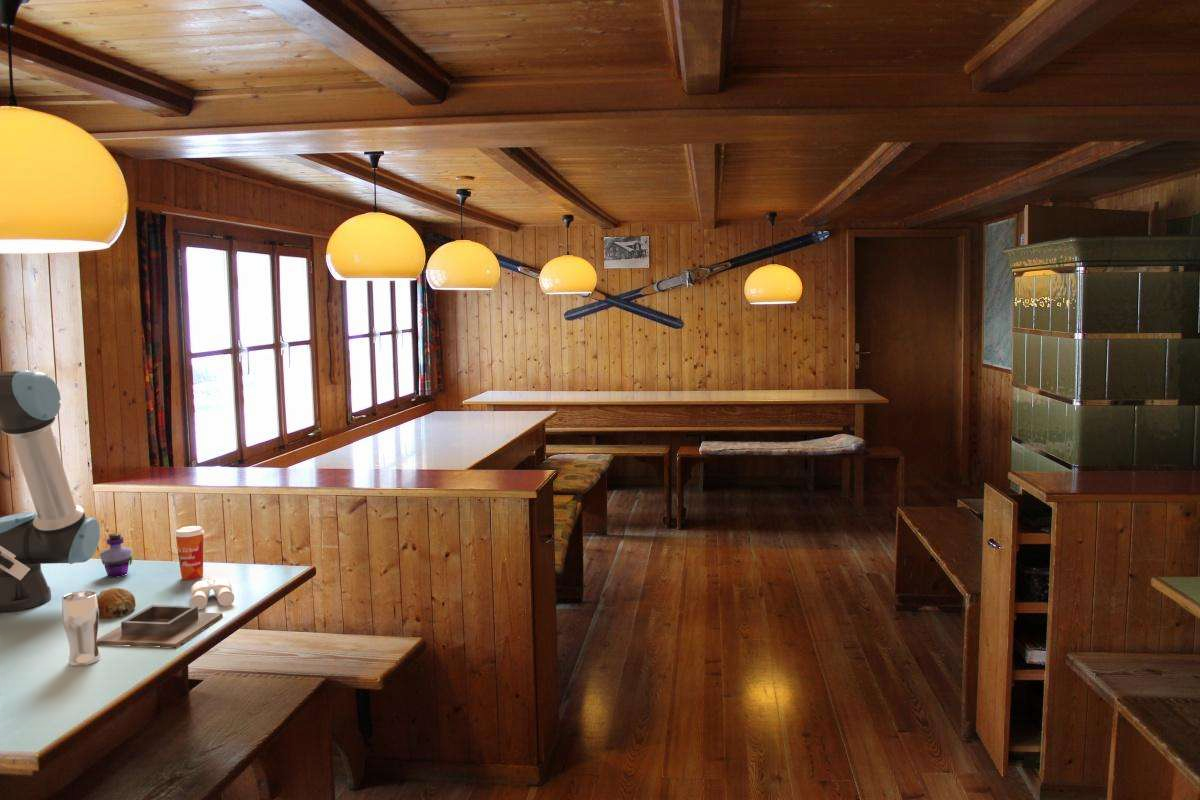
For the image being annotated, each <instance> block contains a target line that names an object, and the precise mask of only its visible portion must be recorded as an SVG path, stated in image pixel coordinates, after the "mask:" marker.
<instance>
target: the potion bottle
mask: <svg viewBox="0 0 1200 800" xmlns="http://www.w3.org/2000/svg"><path fill="white" fill-rule="evenodd" d="M121 535H122V534H121V533H119V532H114V533H110V534H108V538H107V539H106V545H108V546H109V548H107V549H105V550H102V551H101V552H100V553H99V557H100V559H101V563H102V565H103V566H104V569H105V572H106V576H111V577H115V578H118V577H117V576H122V575H125V574H127V572H128V571H129V566H130V565H132V564H133V555H132V552H133V548H132V547H131V548H130V547H124V546H122V544H124V541H125V539H124V537H123V536H121ZM128 573H129V572H128ZM125 576H126V575H125ZM122 577H123V576H122Z"/></svg>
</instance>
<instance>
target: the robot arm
mask: <svg viewBox="0 0 1200 800" xmlns="http://www.w3.org/2000/svg"><path fill="white" fill-rule="evenodd" d="M60 401H61V393H60V390H59V387H58V385H57V383H56V382H55V380H54V379H53V378H52V376H49V375H48V374H46V373H44V372H41V371H33V370H32V371H31V370H26V369H25V370H24V369H23V370H20V371H18V370H17V371H16V370H13V371H12V370H11V371H9V370H8V371H0V430H1V433H3V434H5V435H8V436H10V438H11V440H12V443H13V446H14V449H15V452H16V455H17V458H18V461H19V465H20V468H21V470H22V474H23V476H24V479H25V483H26V486H27V489H28V491H29V494H30V497H31V500H32V503H33V506H34V509H35V511H36V512H33V511H27V512H21V513H15V514H14V513H13V514H9V515H6V516H2V517H0V613H5V612H8V611H9V612H16V611H20V610H26V609H31V608H34V607H38V606H40V605H43V604H45V603H47V602H48V601H50V600H51V599H52V590H51V587H50V586H49V585H48V582H47V580H46V577H45V575H44V574H43V571H42V565H45V564H48V565H49V564H51V565H52V564H53V565H54V564H69V565H73V564H80V563H81V564H82V563H85V562H88V561H89V560H90V559H92V557H93V556H94V555H95V553H96V551H97V548H98V546H99V541H100V537H101V529H100V527H101V526H100V523H99V521H98V520H97V519H96V518H94V517H92V516H90V517H89V516H88V517H86V513H85V511H84V508H83V506H81V505H80V504H76V503H75V501H74V498H73V495H72V494H73V493H72V491H71V488H70V484H69V481H68V478H67V474H66V471H65V468H64V465H63V462H62V459H61V454H60V453H59V449H58V446H57V442H56V439H55V436H54V433H53V429H52V427H51V426H53V424H54V423H55V421H56V417H57V415H58V413H59V412H60V409H61V402H60Z"/></svg>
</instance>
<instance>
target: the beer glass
mask: <svg viewBox="0 0 1200 800" xmlns="http://www.w3.org/2000/svg"><path fill="white" fill-rule="evenodd" d="M97 596H98V595H97V592H96V591H95V590H79V591H73V592H70V593H67V594H65V595H63V596H61V597H62V598H61V606H62V607H61V616H62V624H63V628H64V631H65V634H66V638H67V642H68V647H69V655H68V656H69V657H68V666H71V665H72V666H71V667H76V666H78V667H85V666H84V665H86V666H90V665H93V664H95V663H97V662H99V661H98V660H99V659H100V660H101V654H100V651H99V648H98V645H97V639H98V631H99V625H100V623H99V621H100V618H99V608H98V601H97ZM94 662H95V663H94ZM92 663H93V664H92ZM89 664H90V665H89Z"/></svg>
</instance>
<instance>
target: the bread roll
mask: <svg viewBox="0 0 1200 800" xmlns="http://www.w3.org/2000/svg"><path fill="white" fill-rule="evenodd" d="M97 601H98V608H99V619H101V618H102V620H103V618H107V619H113V618H112V617H114V618H118V617H119V616H120V617H123V616H126V615H128V614H130V613H131V612H132V611H134V610H133V609H135V608H136V599H135V595H134V594H133V593H132V592H131V591H130V590H129V589H125V588H121V587H110V588H109V589H108V588H107V589H103V590H101V591H100V592H99V594H98V595H97ZM129 612H130V613H129ZM127 613H128V614H127ZM125 614H126V615H125ZM122 615H123V616H122Z"/></svg>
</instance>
